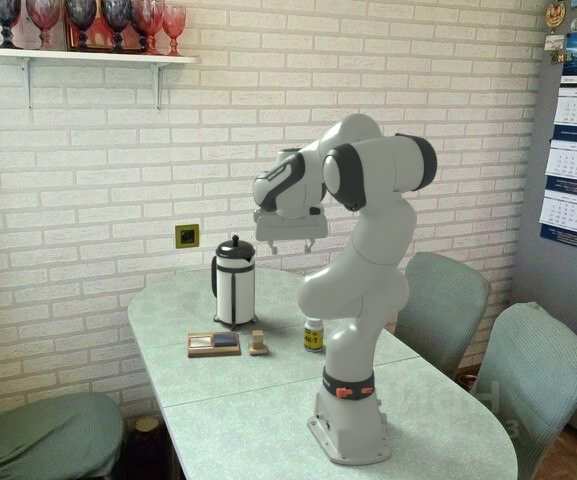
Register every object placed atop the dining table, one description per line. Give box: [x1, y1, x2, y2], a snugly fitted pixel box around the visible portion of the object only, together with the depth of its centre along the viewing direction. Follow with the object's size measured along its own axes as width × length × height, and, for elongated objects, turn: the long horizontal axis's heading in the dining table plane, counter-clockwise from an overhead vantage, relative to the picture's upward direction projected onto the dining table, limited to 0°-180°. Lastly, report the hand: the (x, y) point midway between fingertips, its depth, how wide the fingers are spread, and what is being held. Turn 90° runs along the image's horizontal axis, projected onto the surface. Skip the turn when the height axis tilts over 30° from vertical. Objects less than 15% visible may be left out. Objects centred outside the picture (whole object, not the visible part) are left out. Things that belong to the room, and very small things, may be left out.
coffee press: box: [210, 234, 259, 331], centre depth 184 cm, size 17×16×30 cm
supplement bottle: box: [303, 316, 325, 353], centre depth 170 cm, size 6×6×10 cm
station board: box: [187, 330, 241, 358], centre depth 171 cm, size 13×15×2 cm
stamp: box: [247, 330, 268, 356], centre depth 168 cm, size 5×5×6 cm
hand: (291, 253), depth 159 cm, fingers open, 8 cm apart
